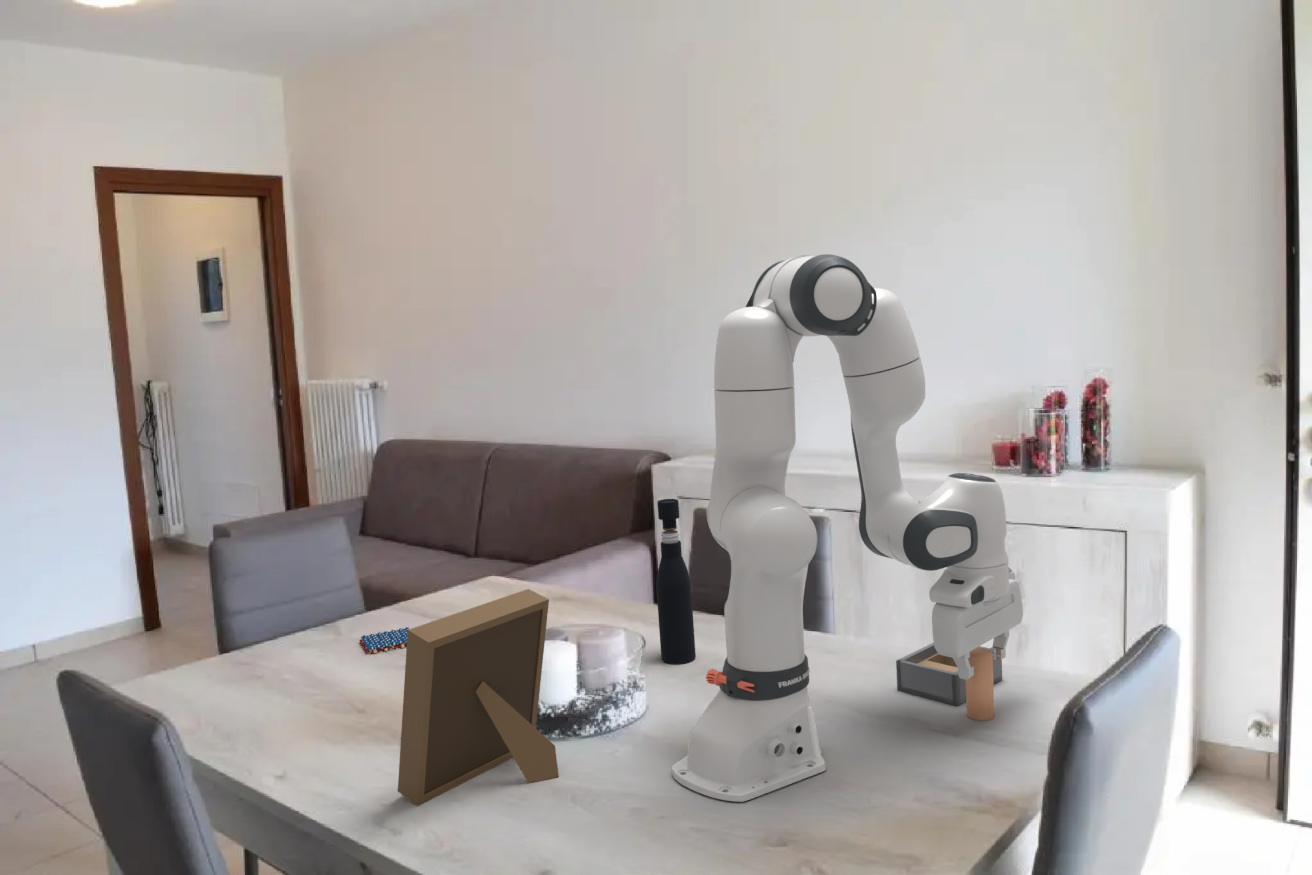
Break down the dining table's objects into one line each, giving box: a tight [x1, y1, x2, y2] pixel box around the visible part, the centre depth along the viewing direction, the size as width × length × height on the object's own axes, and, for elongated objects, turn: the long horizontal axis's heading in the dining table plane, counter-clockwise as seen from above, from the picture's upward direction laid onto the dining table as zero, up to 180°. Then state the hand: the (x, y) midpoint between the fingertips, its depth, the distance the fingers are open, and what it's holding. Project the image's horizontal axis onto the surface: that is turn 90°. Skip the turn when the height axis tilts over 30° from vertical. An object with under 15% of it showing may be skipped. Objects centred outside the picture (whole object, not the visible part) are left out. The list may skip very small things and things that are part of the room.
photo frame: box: [397, 588, 559, 807], centre depth 141 cm, size 15×22×25 cm
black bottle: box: [655, 498, 697, 665], centre depth 186 cm, size 6×6×30 cm
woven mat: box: [358, 627, 410, 656], centre depth 208 cm, size 10×11×2 cm
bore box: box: [895, 642, 1003, 707], centre depth 165 cm, size 14×11×5 cm
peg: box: [965, 647, 995, 722], centre depth 152 cm, size 4×4×10 cm
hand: (982, 668), depth 152 cm, fingers open, 8 cm apart
